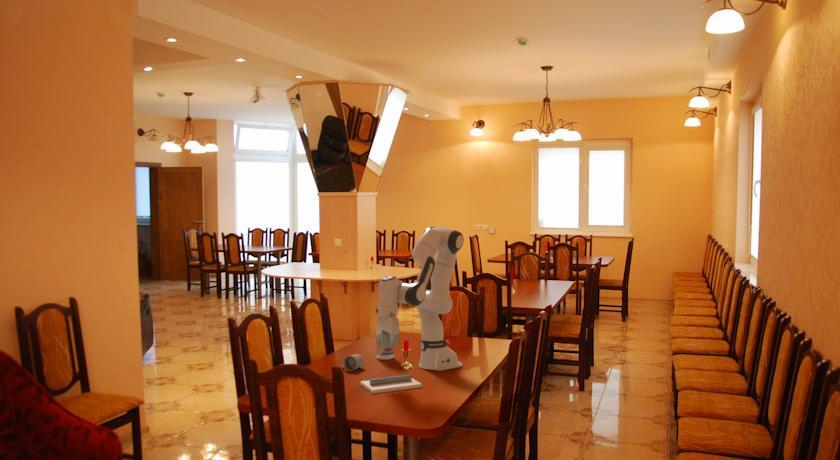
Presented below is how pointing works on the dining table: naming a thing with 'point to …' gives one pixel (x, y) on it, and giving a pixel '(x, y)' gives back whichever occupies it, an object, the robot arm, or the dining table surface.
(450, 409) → the dining table surface
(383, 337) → the channel block
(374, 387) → the mounting board
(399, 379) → the metal rail
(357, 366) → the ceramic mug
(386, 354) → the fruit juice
